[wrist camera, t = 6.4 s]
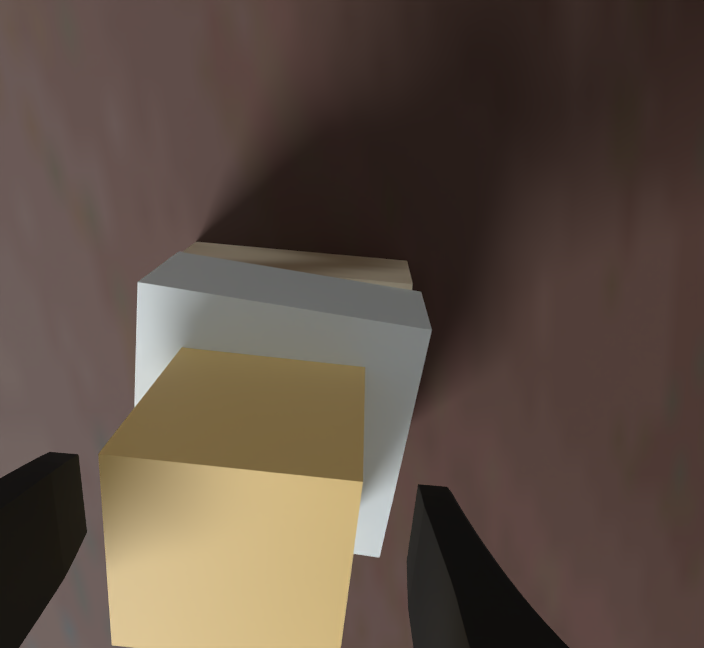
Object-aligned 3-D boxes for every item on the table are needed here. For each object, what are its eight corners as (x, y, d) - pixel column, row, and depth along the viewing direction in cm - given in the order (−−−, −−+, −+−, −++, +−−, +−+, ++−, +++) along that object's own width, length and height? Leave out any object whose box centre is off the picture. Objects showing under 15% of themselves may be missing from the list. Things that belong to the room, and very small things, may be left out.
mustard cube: (365, 367, 14) (363, 481, 10) (346, 514, 15) (337, 667, 11) (181, 346, 14) (98, 454, 9) (182, 497, 15) (111, 645, 11)
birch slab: (406, 258, 19) (412, 284, 16) (384, 437, 21) (386, 486, 19) (199, 239, 19) (169, 262, 16) (201, 420, 21) (175, 467, 19)
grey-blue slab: (421, 291, 16) (431, 329, 13) (377, 489, 19) (379, 557, 16) (178, 251, 16) (137, 282, 13) (167, 457, 18) (131, 520, 16)
